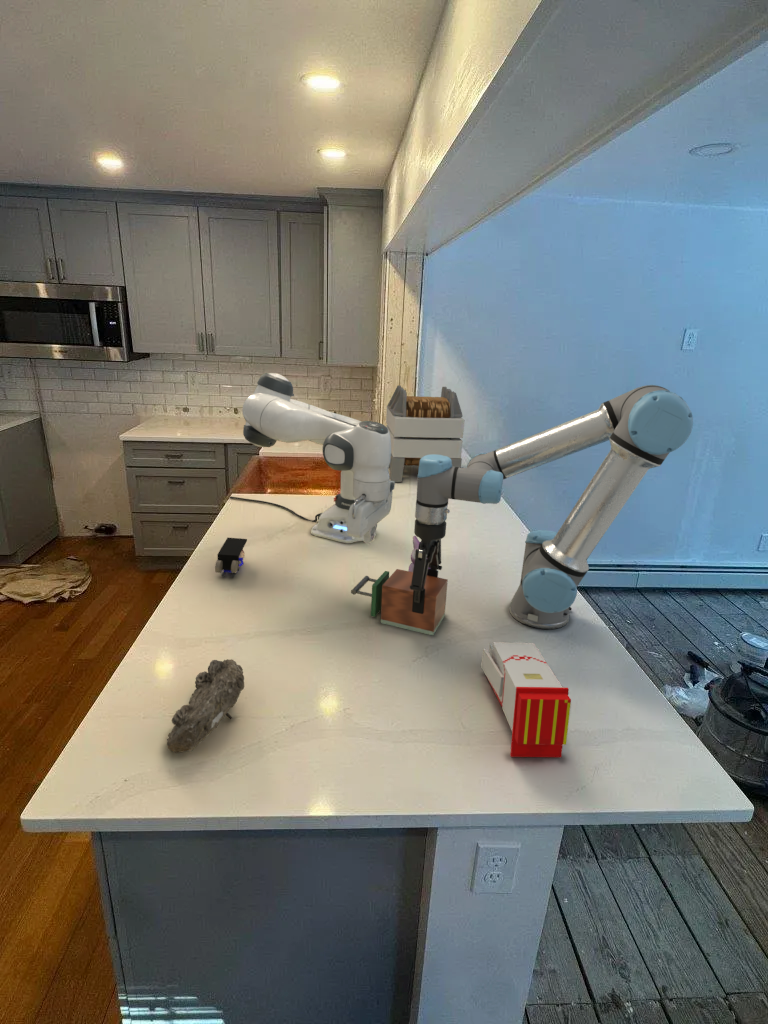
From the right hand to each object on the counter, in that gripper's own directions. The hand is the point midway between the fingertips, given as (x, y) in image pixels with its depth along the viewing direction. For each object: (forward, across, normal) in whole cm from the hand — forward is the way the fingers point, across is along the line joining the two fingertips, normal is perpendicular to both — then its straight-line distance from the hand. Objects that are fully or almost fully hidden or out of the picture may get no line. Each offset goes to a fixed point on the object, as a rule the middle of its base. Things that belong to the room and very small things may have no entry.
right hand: (424, 602), depth 142 cm
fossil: (+6, -51, +26) cm, 57 cm away
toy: (+6, -24, -27) cm, 37 cm away
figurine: (+6, +19, +7) cm, 21 cm away
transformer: (+6, +132, +44) cm, 139 cm away
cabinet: (+6, 0, +3) cm, 6 cm away
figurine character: (+6, +4, +60) cm, 61 cm away
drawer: (+5, 0, +9) cm, 10 cm away
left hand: (-14, 0, +16) cm, 21 cm away
